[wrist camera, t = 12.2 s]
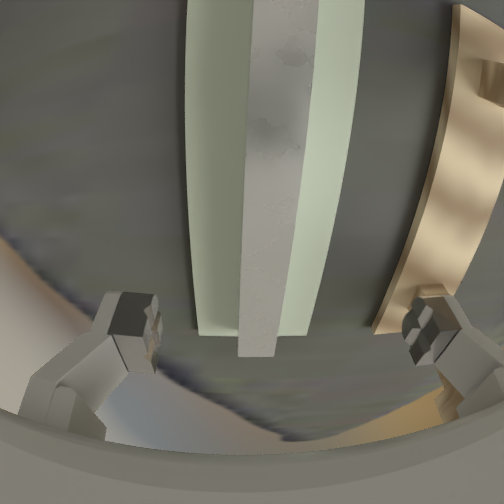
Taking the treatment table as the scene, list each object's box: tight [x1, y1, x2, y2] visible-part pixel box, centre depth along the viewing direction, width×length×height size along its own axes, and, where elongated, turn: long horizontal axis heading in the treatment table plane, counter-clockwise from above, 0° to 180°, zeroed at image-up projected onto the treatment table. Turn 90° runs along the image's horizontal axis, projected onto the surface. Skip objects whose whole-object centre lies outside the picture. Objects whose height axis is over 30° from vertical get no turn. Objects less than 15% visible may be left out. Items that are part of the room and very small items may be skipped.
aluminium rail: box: [238, 0, 319, 357], centre depth 18 cm, size 28×3×3 cm, turn 177°
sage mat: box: [185, 0, 365, 336], centre depth 19 cm, size 30×10×1 cm, turn 177°
